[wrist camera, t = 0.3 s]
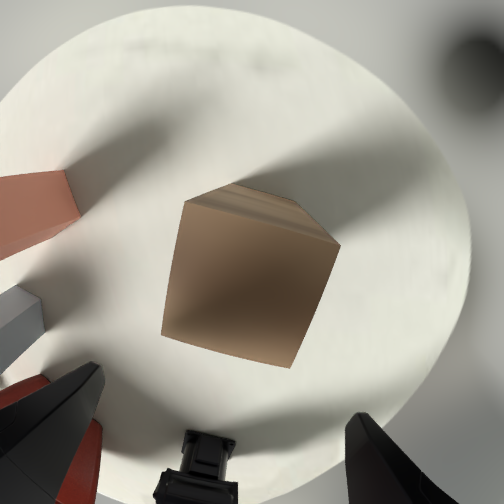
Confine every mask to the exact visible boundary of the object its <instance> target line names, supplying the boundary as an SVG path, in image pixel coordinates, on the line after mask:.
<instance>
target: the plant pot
mask: <svg viewBox="0 0 504 504" xmlns="http://www.w3.org/2000/svg"><path fill="white" fill-rule="evenodd" d="M48 384H50V382H49V381H48V380H47V379H46V378H45V377H44V376H42V375H40V374H39V375H35V376H33V377H30V378H27V379H25V380H22V381H20V382H17V383H15V384H13V385H11V386H9V387H7V388H5V389H3V390H1V391H0V409H2V408H4V407H6V406H8V405H10V404H12V403H14V402H16V401H17V402H18V400H20V399H21V398H23V397H25V396H27V395H29V394H31V393H33V392H35V391H37V390H38V389H40V388H42V387H44V386H46V385H48ZM102 430H103V429H102V426H101V425H100V424H99V423H97V422H96V421H95V420H93V419H92V420H91V422H90V424H89V426H88V429H87V431H86V433H85V435H84V437H83V439H82V441H81V443H80V445H79V447H78V450H77V452H76V454H75V456H74V458H73V460H72V463H71V465H70V467H69V470H68V472H67V474H66V476H65V479H64V481H63V483H62V486H61V488H60V491H59V493H58V496H57V498H56V499H55V500H56V501H55V504H95V499H96V492H97V486H98V479H99V471H100V461H101V450H102Z"/></svg>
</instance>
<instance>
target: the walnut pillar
mask: <svg viewBox="0 0 504 504" xmlns="http://www.w3.org/2000/svg"><path fill="white" fill-rule="evenodd" d="M340 246H341V245H340V244H339V243H338V242H337V241H336V240H335V239H334V238H333V237H332V236H331V235H330V234H329V233H327V232H326V231H325V230H324V229H323V228H322V227H321V226H320V225H319V224H318V223H317V222H316V221H315V220H314V219H313V218H312V217H311V216H310V215H309V214H308V213H307V212H305V211H304V210H303V209H302V208H301V207H300V206H299V205H298V204H297V203H296V202H295V201H292V200H288V199H285V198H282V197H278V196H275V195H271V194H268V193H264V192H261V191H257V190H254V189H250V188H246V187H243V186H239V185H235V184H232V183H231V184H228V185H226V186H223V187H220V188H218V189H215V190H212V191H210V192H207V193H205V194H202V195H200V196H197V197H195V198H192V199H190V200H187V201H185V202H184V207H183V211H182V216H181V220H180V225H179V230H178V235H177V240H176V245H175V250H174V255H173V260H172V266H171V271H170V277H169V283H168V289H167V295H166V302H165V308H164V315H163V322H162V330H161V335H162V336H165V337H168V338H171V339H175V340H178V341H181V342H184V343H188V344H191V345H194V346H198V347H201V348H205V349H208V350H212V351H216V352H219V353H223V354H227V355H231V356H235V357H239V358H243V359H247V360H252V361H256V362H260V363H265V364H270V365H275V366H279V367H284V368H290V367H291V365H292V363H293V361H294V359H295V357H296V355H297V352H298V350H299V348H300V346H301V344H302V341H303V339H304V337H305V335H306V332H307V330H308V328H309V325H310V323H311V321H312V318H313V316H314V314H315V311H316V309H317V306H318V304H319V302H320V299H321V297H322V294H323V292H324V289H325V287H326V284H327V281H328V279H329V276H330V274H331V271H332V268H333V266H334V263H335V260H336V258H337V255H338V252H339V249H340Z"/></svg>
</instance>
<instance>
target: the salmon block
mask: <svg viewBox="0 0 504 504" xmlns="http://www.w3.org/2000/svg"><path fill="white" fill-rule="evenodd" d="M79 218H81V216H80V213H79V211H78V208H77V206H76V203H75V200H74V198H73V195H72V192H71V190H70V187H69V184H68V181H67V178H66V175H65V172H64V170H60V171H48V172H38V173H28V174H20V175H12V176H5V177H0V261H1V260H3V259H5V258H7V257H9V256H12V255H14V254H16V253H18V252H20V251H23V250H25V249H27V248H29V247H32V246H34V245H36V244H38V243H41V242H43V241H46V240H48V239H50V238H52V237H53V236H55V235H56V234H58V233H59V232H60V231H62V230H63V229H65V228H66V227H68V226H69V225H70V224H72V223H73V222H75V221H76V220H78V219H79Z"/></svg>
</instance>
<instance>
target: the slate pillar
mask: <svg viewBox="0 0 504 504" xmlns="http://www.w3.org/2000/svg"><path fill="white" fill-rule="evenodd" d="M44 333H45V328H44V321H43V314H42V305H41V299H40V298H38V297H37V296H35V295H33V294H31V293H29V292H27V291H26V290H24V289H22V288H20V287H19V286H17V285H15V286H13V287H12V288H10V289H8V290H7V291H5V292H4V293H2V294H0V375H1V374H2V373H3V372H4V371H5V370H6V369H7V368H8V367H9V366H10V365H11V364H12V363H13V362H14V361H15V360H16V359H17V358H18V357H19V356H20V355H21V354H22V353H23V352H24V351H26V350H27V349H28V348H29V347H30V346H31V345H32V344H33V343H34V342H35V341H36V340H37V339H39V338H40V337H41V336H42V335H43V334H44Z"/></svg>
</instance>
